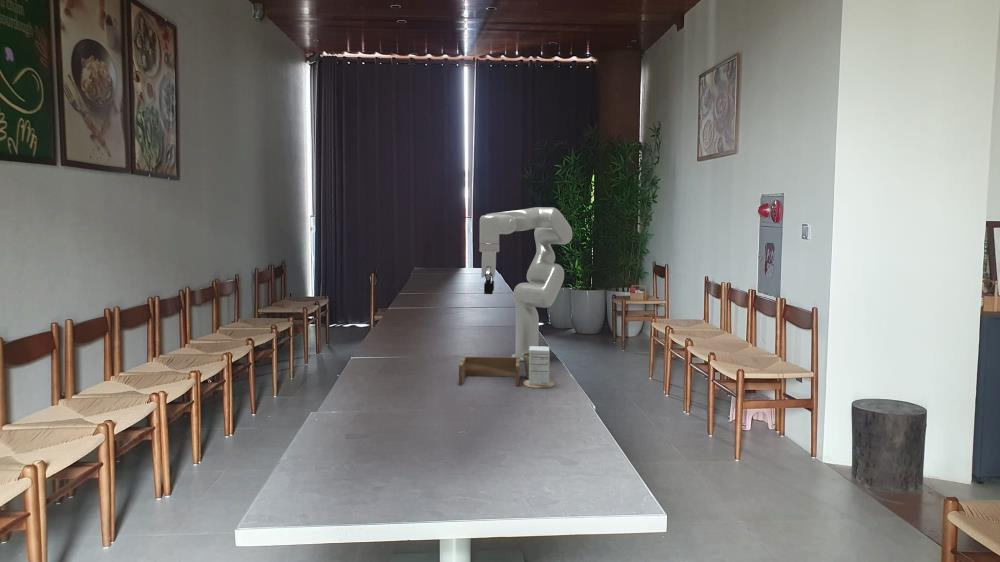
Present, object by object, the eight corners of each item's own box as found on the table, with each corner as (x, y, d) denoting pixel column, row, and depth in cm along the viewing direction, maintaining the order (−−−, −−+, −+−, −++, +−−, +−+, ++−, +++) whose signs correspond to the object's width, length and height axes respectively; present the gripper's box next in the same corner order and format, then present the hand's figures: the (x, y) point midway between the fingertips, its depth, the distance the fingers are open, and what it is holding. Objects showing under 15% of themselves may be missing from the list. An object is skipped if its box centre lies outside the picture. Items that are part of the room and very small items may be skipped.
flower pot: (517, 378, 278) (517, 355, 277) (528, 373, 286) (528, 351, 285) (540, 381, 274) (540, 358, 273) (550, 376, 282) (551, 353, 281)
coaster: (543, 379, 277) (543, 377, 277) (559, 386, 267) (560, 384, 267) (517, 382, 272) (517, 380, 271) (533, 389, 262) (533, 387, 262)
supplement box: (528, 380, 273) (529, 345, 271) (549, 380, 272) (549, 346, 271) (528, 385, 266) (528, 349, 264) (549, 385, 265) (549, 350, 264)
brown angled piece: (462, 374, 283) (462, 356, 282) (519, 375, 282) (519, 357, 281) (458, 384, 267) (458, 365, 267) (518, 385, 267) (519, 366, 266)
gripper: (480, 246, 295) (480, 289, 296) (478, 249, 277) (477, 295, 279) (500, 246, 294) (499, 289, 296) (498, 249, 277) (498, 295, 279)
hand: (489, 292), depth 288 cm, fingers open, 9 cm apart
